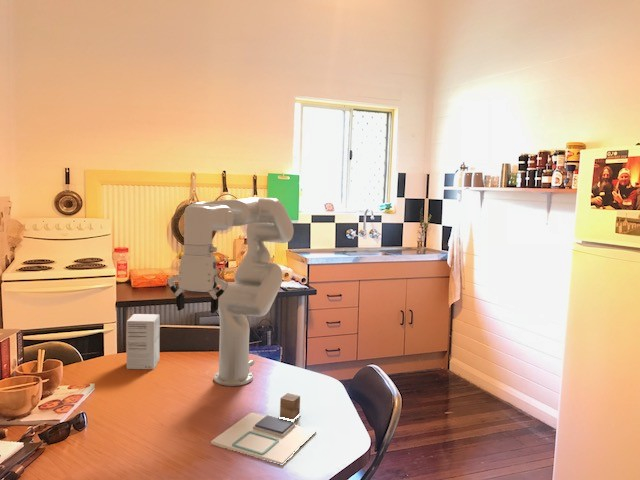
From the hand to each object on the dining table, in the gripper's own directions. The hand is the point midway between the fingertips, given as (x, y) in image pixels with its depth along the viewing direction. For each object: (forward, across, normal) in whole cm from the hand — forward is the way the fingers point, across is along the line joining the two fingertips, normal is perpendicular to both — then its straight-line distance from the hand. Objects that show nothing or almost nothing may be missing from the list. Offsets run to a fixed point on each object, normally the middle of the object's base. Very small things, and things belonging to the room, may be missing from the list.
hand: (197, 310), depth 141 cm
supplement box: (+28, +30, -27) cm, 49 cm away
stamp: (+28, -28, +1) cm, 39 cm away
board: (+28, -24, +14) cm, 39 cm away
